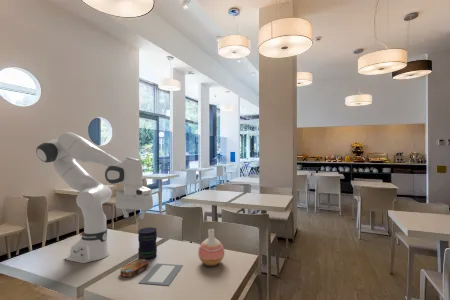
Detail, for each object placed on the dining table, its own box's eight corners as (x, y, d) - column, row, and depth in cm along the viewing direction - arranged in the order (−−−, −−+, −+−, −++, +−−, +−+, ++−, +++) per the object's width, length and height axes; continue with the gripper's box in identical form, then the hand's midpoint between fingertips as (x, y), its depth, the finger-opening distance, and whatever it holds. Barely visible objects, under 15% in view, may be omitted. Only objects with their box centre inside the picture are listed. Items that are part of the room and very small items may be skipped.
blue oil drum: (156, 252, 142) (156, 226, 142) (157, 259, 133) (157, 231, 133) (138, 254, 139) (138, 228, 139) (137, 261, 130) (137, 233, 130)
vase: (229, 261, 130) (228, 228, 130) (216, 272, 118) (215, 235, 118) (207, 256, 136) (207, 224, 137) (193, 266, 124) (192, 231, 125)
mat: (138, 283, 108) (138, 282, 108) (157, 263, 127) (157, 263, 127) (168, 285, 106) (168, 285, 106) (182, 265, 125) (182, 265, 125)
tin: (129, 273, 112) (116, 268, 115) (129, 280, 112) (116, 275, 115) (152, 260, 125) (140, 256, 129) (151, 266, 125) (139, 262, 129)
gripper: (112, 190, 122) (112, 218, 122) (146, 191, 115) (147, 221, 115) (121, 188, 128) (121, 215, 128) (154, 189, 121) (154, 217, 121)
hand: (134, 217), depth 121 cm, fingers open, 8 cm apart
